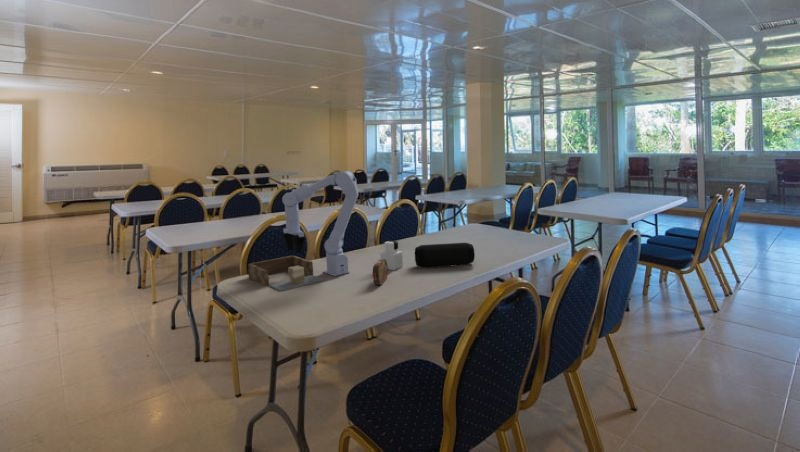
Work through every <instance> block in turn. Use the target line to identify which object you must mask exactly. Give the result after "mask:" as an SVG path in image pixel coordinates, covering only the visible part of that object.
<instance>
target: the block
mask: <svg viewBox="0 0 800 452" xmlns="http://www.w3.org/2000/svg"><path fill="white" fill-rule="evenodd" d="M287 271H288V281H289V282H290V283H292V284H294V285H295V284H299V283H303V282H305V277H306V276H305V274H304V267H301V266H294V267H289V268H288V270H287Z"/></svg>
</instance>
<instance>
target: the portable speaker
mask: <svg viewBox="0 0 800 452" xmlns="http://www.w3.org/2000/svg"><path fill="white" fill-rule="evenodd" d="M475 256H476V254H475V249H474V245H473V244H472V243H468V242H455V243H453V242H452V243H435V244H422V245H418V246H416V247H415V248H414V261H415V264H416V266H417V267H420V268H423V267H425V268H437V267H438V266H441V267H452V266H451V265H457V266H467V265H470V264H472V263H474V261H475ZM438 268H439V267H438Z"/></svg>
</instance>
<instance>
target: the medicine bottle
mask: <svg viewBox="0 0 800 452" xmlns="http://www.w3.org/2000/svg"><path fill="white" fill-rule="evenodd" d="M403 257H404V256H403V251H401V250H399V242H398V241H396V240H387V241H384V251H383V252H381V253H380V260H381V259H386V261H387V267H388V271H389V270H390V271H395V270H398V269H401V268H403V266H404V263H403V261H404V260H403Z"/></svg>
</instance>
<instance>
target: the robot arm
mask: <svg viewBox="0 0 800 452" xmlns="http://www.w3.org/2000/svg"><path fill="white" fill-rule="evenodd" d="M328 186H338V187H339V188H340V189H341V190H342V192H343V193H344V195H345V197H344V199H343V202H342V206H341V207H340V209H339V213H338V216H337V218H336V221H335V223H334V227H333V229H332V231H331V232H330V235H329V237H328V239H326V240H325V242H324V244H323V245H324V250H325V257H326V258H325V260H326V269H325V270H323V271H322V272H323V273H324V274H328V275H331V276H334V277H336V276H341V275H345V274H349V273H351V271H350V270H349V261H348V260H349V259H348V256H346V255H345V254H344V252H343V251H344V250H343V248H342V247H343V246H344V237H345V232H346V229H347V226H348V223H349V222H350V219H351V216H352V212H353V211H354V208H355V205H356V203H357V201H358V198H359V190H358V189H359V188H358V183H357V177H355V175H354V173H353V172H352V171H351V170H344V171H339V172H337V173H333V174H331V175H328V176H326V177H324V178H322V179H320V180H318V181H317V182H314V183H313V184H309V183H306V184H305V183H303V184H300V187H298V188H293V189H291V192H286V193H285V194H284V195H283V196H282V198H281V199H282V200H281V201H282V204H283V205H284V214H285V215H284V217H285V228H283V229H282V230H283V234H281V237H282V238H283V240H284V243H285V245H286V248H287V251H292V250H295V253H296V254H299V253H302V251H303V250H302V249H303V245H304V242H305V240H306V238H307V237H306V236H305V233H304V231H302V230H301V225H300V223H301V222H300V209H299V203H302V202H304V201H306V200H308V199H310V198H312V197H314V195H315V192H317V191H319V190H321V189H324V188H326V187H328ZM294 248H295V249H294Z"/></svg>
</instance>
